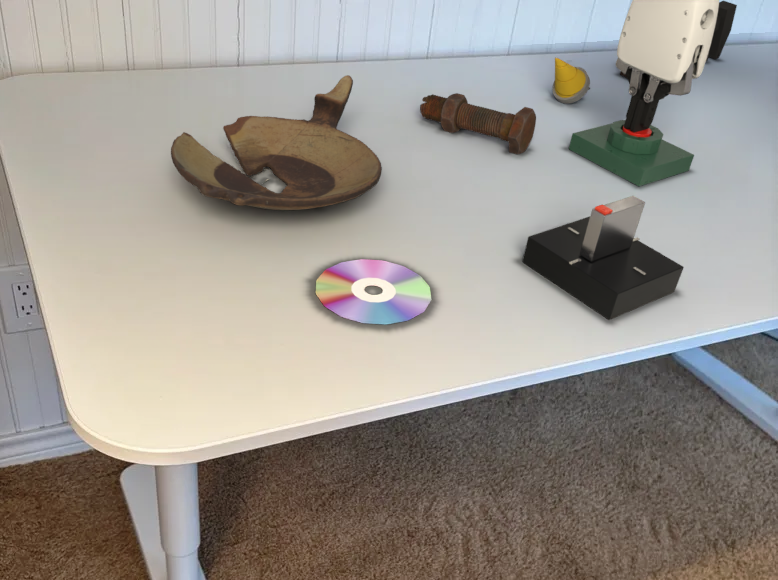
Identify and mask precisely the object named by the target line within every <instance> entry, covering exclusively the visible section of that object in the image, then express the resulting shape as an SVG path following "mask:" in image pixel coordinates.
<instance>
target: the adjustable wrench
mask: <svg viewBox="0 0 778 580" xmlns="http://www.w3.org/2000/svg"><path fill="white" fill-rule="evenodd" d="M737 8H738V4H735V3H733V2H730V1H727V0H721V1H719V8H718V14H717V20H716V25H715V29H714V33H713V37H712V41H711V45H710V49H709V52H708V56H707V59H706V62H707V61H709V58H711V59H714V60H719V58H720V56H721V54H722V52H723V49H724V48H725V45H726V43H727V41H728V39H729V36H730V34H731V32H732V28H733V24H734V20H735V15H736V12H737ZM619 75H620V76H621V77H624V78H626V79H627V77H626V74H624V73H623V72H621V71H620V70H619Z"/></svg>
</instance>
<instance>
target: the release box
mask: <svg viewBox="0 0 778 580" xmlns="http://www.w3.org/2000/svg"><path fill="white" fill-rule="evenodd" d="M625 121H626V119H621V120H616V121H613V122H612V123H608V124H604V125H600V126H596V127H591V128H588V129H584V130H579V131H577V132H573V133H571V134H572V135H571V139H570V143H569V147H568V150H569V151H571V152H573V153H575V154H577V155H578V156H580V157H582V158H585V159H586V160H588V161H590V162H591V163H593V164H596V165H598V166H600V167H601V168H603V169H605V170H607V171H609V172H610V173H613V174H615V175H617V176H618V177H620V178H622V179H624V180H626V181H628V182H630V183H632V184H634V185H635V186H637V187H643V186H646V185H649V184H653V183H654V182H658V181H661V180H665V179H667V178H670V177H674V176H676V175H679V174H684V173H686V172H689V171H690V168H691V165H692V163H693V160H694V157H695V154H694V153H692V152H689V151H687V150H686V149H683V148H681V147H679V146H676V145H674V144H673V143H670V142H668V141H666V140H664V139H663V137H664V133H663V132H662V130H661V129H659V128H658V127H656V126H654V125H652V124H651V125H650V127H649V129H651V131H652V133H651V136H650V137H637V136H632V135H629V134H627V133H625V132H623V131H622V129H623V126H624V124H625Z"/></svg>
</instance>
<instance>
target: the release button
mask: <svg viewBox="0 0 778 580" xmlns="http://www.w3.org/2000/svg"><path fill="white" fill-rule="evenodd" d="M622 131H623V132H625V133H627V134H629V135H632V136H637V137H650V136H651V133H652V131H651V129H649V128H648V129H646V130H642V131H638V132H635V133H634V132H632V131H631V130H630V129H626V128H624V126H623V129H622Z"/></svg>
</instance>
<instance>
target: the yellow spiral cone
mask: <svg viewBox="0 0 778 580" xmlns="http://www.w3.org/2000/svg"><path fill="white" fill-rule="evenodd" d="M590 85H591V79H590V75H589V74H588V72H587V71H586V69H584V68H583V67H580V66H573V65H572V64H570V63H568V62H566V61H564V60H563V59H560V58H558V57H554V81H553V84H552V89H551V91H552V94H553V96H554V98H555V99H556V100H557V101H558V102H559V103H561V104H564V105H565V104H566V105H568V104H573V103H577V102H578V101H580V100H581V99H582V98H583V97H585V95H586V94H587V93H588V91H590V90H591V87H590Z"/></svg>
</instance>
